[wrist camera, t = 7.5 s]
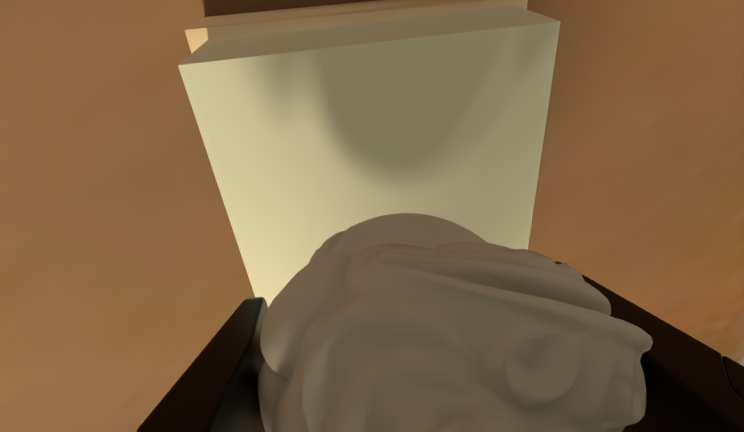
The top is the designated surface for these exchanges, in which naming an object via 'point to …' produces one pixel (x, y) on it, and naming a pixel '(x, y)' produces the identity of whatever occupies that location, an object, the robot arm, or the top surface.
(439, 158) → the upper block
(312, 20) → the lower block
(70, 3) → the top surface
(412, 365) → the frog figurine
